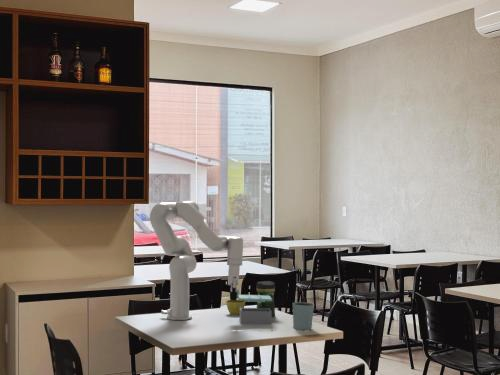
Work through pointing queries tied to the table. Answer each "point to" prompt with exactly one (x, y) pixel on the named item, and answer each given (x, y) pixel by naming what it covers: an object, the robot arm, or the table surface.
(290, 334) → the table surface
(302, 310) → the grey-blue tapered cup
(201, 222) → the robot arm
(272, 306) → the coffee jar
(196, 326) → the table surface
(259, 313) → the tub
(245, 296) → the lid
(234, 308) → the flower pot
